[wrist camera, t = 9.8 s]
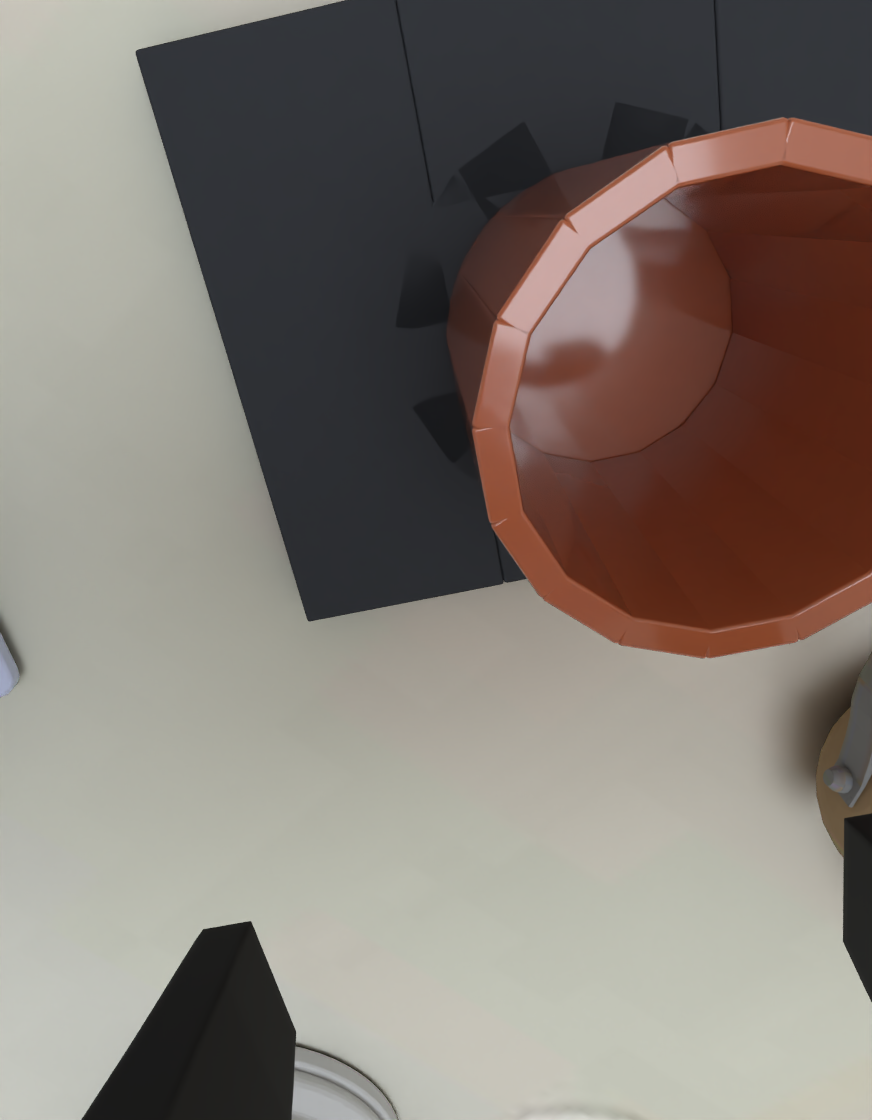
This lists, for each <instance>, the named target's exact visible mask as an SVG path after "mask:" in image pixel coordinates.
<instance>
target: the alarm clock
mask: <svg viewBox="0 0 872 1120" xmlns="http://www.w3.org/2000/svg"><path fill="white" fill-rule="evenodd" d="M816 791H817V799H818V803H819V808H820V812H821V816H822V820H823V823H824V825H825V827H826V829H827V831H828V833H829V835H830V837H831V839H832V841H833V843H834V845H835V846H836V848H837V850H838V851H839V853H840V854H841V855H842V856H843V857H844V818H848V817H853V816H859V815H865V814H871V813H872V653H871V654H870V656H869V658H868V660H867V662H866V664H865V665H864V667H863V669H862V671H861V673H860V674H859V677H858V680H857V683H856V686H855V690H854V693H853V696H852V700H851V707H850V708H849V709H848V710H847V711H845V713H844V714H843V715H842V716H841V717H840V719H839V720H838V721H837V722H836V723H835V724H834V726H833V727H832V728H831V730H830V732H829V734H828V736H827V739H826V741H825V743H824V745H823V747H822V749H821V752H820V756H819V761H818V766H817V771H816Z"/></svg>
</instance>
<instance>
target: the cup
mask: <svg viewBox="0 0 872 1120" xmlns="http://www.w3.org/2000/svg"><path fill="white" fill-rule="evenodd" d="M446 334H447V335H446V340H447V345H448V350H449V356H450V362H451V366H452V371H453V376H454V381H455V386H456V392H457V396H458V400H459V404H460V408H461V412H462V416H463V420H464V424H465V428H466V432H467V436H468V440H469V444H470V448H471V452H472V456H473V460H474V464H475V468H476V472H477V476H478V480H479V484H480V488H481V492H482V496H483V500H484V505H485V509H486V513H487V517H488V520H489V522H490V523H491V527H492V529H493V531H494V532H495V533H496V535H497V536H498V538H499V539H500V541H501V542H502V543H503V545H504V546H505V548H506V549H507V551H508V552H509V554H510V555H511V556H512V558H513V559H514V561H515V562H516V564H517V565H518V566H519V568H520V569H521V571H522V572H523V574H524V575H525V577H526V578H527V579H528V581H529V582H530V584H531V585H532V587H533V588H534V589H535V591H536V592H537V594H538V595H539V596H540V597H542V598H543V599H544V601H546V602H547V603H549V604H551V605H552V606H554V607H556V608H557V609H559V610H561V611H562V612H564V613H565V614H567V615H569V616H570V617H572V618H574V619H575V620H577V621H579V622H580V623H582V624H584V625H585V626H587V627H589V628H590V629H592V630H594V631H595V632H597V633H599V634H600V635H602V636H603V637H605V638H607V639H608V640H610V641H612V642H614V643H618V644H619V645H622V646H628V647H635V648H641V649H647V650H653V651H660V652H666V653H672V654H678V655H684V656H691V657H697V658H705V657H707V658H715V657H720V656H725V655H731V654H736V653H741V652H747V651H752V650H757V649H763V648H768V647H774V646H779V645H784V644H790V643H795V642H797V641H798V639H799V640H804V639H805V638H807V637H809V636H811V635H813V634H815V633H816V632H818V631H820V630H822V629H824V628H826V627H828V626H829V625H831V624H833V623H835V622H837V621H839V620H840V619H842V618H844V617H846V616H848V615H850V614H851V613H853V612H855V611H857V610H859V609H861V608H863V607H864V606H866V605H868V604H870V603H872V136H871V135H867V134H863V133H859V132H854V131H850V130H846V129H842V128H838V127H833V126H829V125H825V124H821V123H816V122H812V121H808V120H804V119H800V118H795V117H791V118H785V117H781V118H776V119H772V120H767V121H763V122H758V123H754V124H749V125H745V126H740V127H736V128H731V129H727V130H722V131H718V132H713V133H709V134H704V135H700V136H695V137H691V138H686V139H682V140H677V141H673V142H669V143H665V144H661V145H658V146H654V147H650V148H646V149H643V150H639V151H635V152H631V153H628V154H624V155H620V156H616V157H613V158H609V159H605V160H601V161H598V162H594V163H590V164H587V165H583V166H579V167H575V168H572V169H568V170H564V171H560V172H557V173H553V174H551V175H549V176H546V177H545V178H544V179H542V180H541V181H539V182H538V183H536V184H534V185H533V186H531V187H529V188H528V189H526V190H525V191H523V192H521V193H520V194H518V195H517V196H516V197H514V198H513V199H512V200H511V201H509V202H508V203H507V204H506V205H505V206H503V207H502V208H501V209H500V210H499V211H498V212H496V214H495V215H494V216H493V217H492V218H491V220H490V221H489V222H488V223H487V224H486V225H485V226H484V228H483V229H482V231H481V232H480V233H479V235H478V236H477V237H476V239H475V240H474V242H473V243H472V245H471V247H470V249H469V251H468V253H467V254H466V256H465V258H464V260H463V262H462V265H461V267H460V269H459V272H458V274H457V277H456V280H455V283H454V287H453V291H452V295H451V299H450V305H449V313H448V325H447V330H446Z"/></svg>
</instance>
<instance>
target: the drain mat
mask: <svg viewBox="0 0 872 1120" xmlns="http://www.w3.org/2000/svg"><path fill="white" fill-rule="evenodd" d="M136 56H137V60H138V63H139V66H140V70H141V73H142V76H143V80H144V83H145V86H146V89H147V93H148V96H149V99H150V103H151V106H152V109H153V112H154V116H155V119H156V122H157V126H158V129H159V132H160V136H161V139H162V142H163V145H164V149H165V152H166V155H167V159H168V162H169V165H170V168H171V172H172V175H173V178H174V182H175V185H176V188H177V192H178V195H179V198H180V201H181V205H182V208H183V211H184V215H185V218H186V221H187V224H188V228H189V231H190V234H191V238H192V241H193V244H194V248H195V251H196V254H197V257H198V261H199V264H200V267H201V271H202V274H203V277H204V280H205V284H206V287H207V290H208V294H209V297H210V300H211V304H212V307H213V310H214V313H215V317H216V320H217V323H218V327H219V330H220V333H221V336H222V340H223V343H224V346H225V350H226V353H227V356H228V360H229V363H230V366H231V369H232V373H233V376H234V379H235V383H236V386H237V389H238V392H239V396H240V399H241V402H242V406H243V409H244V412H245V416H246V419H247V422H248V425H249V429H250V432H251V435H252V439H253V442H254V445H255V448H256V452H257V455H258V458H259V462H260V465H261V468H262V472H263V475H264V478H265V481H266V485H267V488H268V491H269V495H270V498H271V501H272V504H273V508H274V511H275V514H276V518H277V521H278V524H279V528H280V531H281V534H282V537H283V541H284V544H285V547H286V551H287V554H288V557H289V560H290V564H291V567H292V570H293V574H294V577H295V580H296V584H297V587H298V590H299V593H300V597H301V600H302V603H303V607H304V610H305V613H306V616H307V620H308V621H314V620H319V619H325V618H330V617H335V616H340V615H345V614H350V613H356V612H361V611H366V610H371V609H376V608H381V607H386V606H392V605H397V604H402V603H407V602H412V601H417V600H423V599H428V598H433V597H438V596H443V595H448V594H453V593H459V592H464V591H469V590H474V589H479V588H484V587H489V586H495V585H500V584H503V582H504V581H505V582H513V581H518V580H523V579H527V578H526V577H525V575H524V574H523V572H522V571H521V569H520V568H519V566H518V565H517V564H516V562H515V561H514V559H513V558H512V556H511V555H510V554H509V552H508V551H507V549H506V548H505V546H504V545H503V543H502V542H501V541H500V539H499V538H498V536H497V535H496V533H495V532H494V531H493V529H492V527H491V523H490V522H489V520H488V517H487V513H486V509H485V505H484V500H483V496H482V492H481V488H480V484H479V480H478V476H477V472H476V468H475V464H474V460H473V456H472V452H471V448H470V444H469V440H468V436H467V432H466V428H465V424H464V420H463V416H462V412H461V408H460V404H459V400H458V396H457V392H456V386H455V381H454V376H453V371H452V366H451V362H450V356H449V350H448V345H447V340H446V335H447V334H446V330H447V325H448V313H449V305H450V299H451V295H452V291H453V287H454V283H455V280H456V277H457V274H458V272H459V269H460V267H461V265H462V262H463V260H464V258H465V256H466V254H467V253H468V251H469V249H470V247H471V245H472V243H473V242H474V240H475V239H476V237H477V236H478V235H479V233H480V232H481V231H482V229H483V228H484V226H485V225H486V224H487V223H488V222H489V221H490V220H491V218H492V217H493V216H494V215H495V214H496V212H498V211H499V210H500V209H501V208H502V207H503V206H505V205H506V204H507V203H508V202H509V201H511V200H512V199H513V198H514V197H516V196H517V195H518V194H520V193H521V192H523V191H525V190H526V189H528V188H529V187H531V186H533V185H534V184H536V183H538V182H539V181H541V180H542V179H544V178H545V177H546V176H549V175H551V174H553V173H557V172H560V171H564V170H568V169H572V168H575V167H579V166H583V165H587V164H590V163H594V162H598V161H601V160H605V159H609V158H613V157H616V156H620V155H624V154H628V153H631V152H635V151H639V150H643V149H646V148H650V147H654V146H658V145H661V144H665V143H669V142H673V141H677V140H682V139H686V138H691V137H695V136H700V135H704V134H709V133H713V132H718V131H722V130H727V129H731V128H736V127H740V126H745V125H749V124H754V123H758V122H763V121H767V120H772V119H776V118H781V117H785V118H791V117H795V118H800V119H804V120H808V121H812V122H816V123H821V124H825V125H829V126H833V127H838V128H842V129H846V130H850V131H854V132H859V133H863V134H867V135H871V136H872V0H345V1H341V2H337V3H333V4H328V5H324V6H320V7H316V8H312V9H307V10H303V11H299V12H295V13H290V14H286V15H282V16H278V17H274V18H269V19H265V20H261V21H257V22H253V23H248V24H244V25H240V26H236V27H231V28H227V29H223V30H219V31H215V32H210V33H206V34H202V35H198V36H194V37H189V38H185V39H181V40H177V41H173V42H168V43H164V44H160V45H156V46H151V47H147V48H143V49H139V50H137V51H136ZM503 580H504V581H503Z"/></svg>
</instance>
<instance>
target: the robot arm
mask: <svg viewBox="0 0 872 1120" xmlns="http://www.w3.org/2000/svg"><path fill="white" fill-rule="evenodd" d="M19 676H20V675H19V671H18V668H17V666H16V664H15V661H14V659H13V657H12V655H11V653H10V651H9V649H8V647H7V645H6V643H5V641H4V639H3V637H2V635H1V633H0V697H2V696H5V695H7V694H8V693H9V692H10V691H11V690H12V689H13V688H14V686H15V685H16V684H17V683H18V680H19ZM843 942H844V944H845V947H846V949H847V951H848V953H849V955H850V957H851V959H852V962H853V964H854V966H855V968H856V970H857V972H858V974H859V976H860V979H861V981H862V983H863V985H864V987H865V989H866V991H867V993H868V995H869V997H870V999H871V1002H872V813H871V814H865V815H859V816H853V817H848V818H844V894H843ZM295 1046H296V1030H295V1028H294V1026H293V1023H292V1021H291V1018H290V1016H289V1013H288V1011H287V1008H286V1006H285V1003H284V1001H283V999H282V996H281V994H280V991H279V989H278V986H277V984H276V981H275V979H274V976H273V974H272V972H271V969H270V967H269V964H268V962H267V959H266V957H265V954H264V952H263V949H262V947H261V945H260V942H259V940H258V937H257V935H256V932H255V930H254V927H253V925H252V922H251V921H249V922H243V923H237V924H231V925H226V926H220V927H214V928H208V929H203V930H202V932H201V933H200V935H199V936H198V937H197V939H196V940H195V942H194V944H193V945H192V947H191V948H190V950H189V951H188V953H187V955H186V956H185V958H184V959H183V961H182V963H181V964H180V966H179V968H178V969H177V971H176V972H175V974H174V976H173V977H172V979H171V980H170V982H169V984H168V985H167V987H166V989H165V990H164V992H163V993H162V995H161V997H160V998H159V1000H158V1001H157V1003H156V1005H155V1006H154V1008H153V1009H152V1011H151V1013H150V1014H149V1016H148V1017H147V1019H146V1021H145V1022H144V1024H143V1025H142V1027H141V1029H140V1030H139V1032H138V1033H137V1035H136V1037H135V1038H134V1040H133V1041H132V1043H131V1045H130V1046H129V1048H128V1049H127V1051H126V1052H125V1054H124V1055H123V1057H122V1058H121V1060H120V1062H119V1063H118V1065H117V1066H116V1068H115V1069H114V1071H113V1072H112V1074H111V1075H110V1077H109V1078H108V1080H107V1081H106V1083H105V1085H104V1086H103V1088H102V1089H101V1091H100V1092H99V1094H98V1095H97V1097H96V1098H95V1100H94V1101H93V1103H92V1104H91V1106H90V1108H89V1109H88V1111H87V1112H86V1114H85V1115H84V1117H83V1118H82V1120H291V1119H292V1104H293V1088H294V1068H295Z"/></svg>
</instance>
